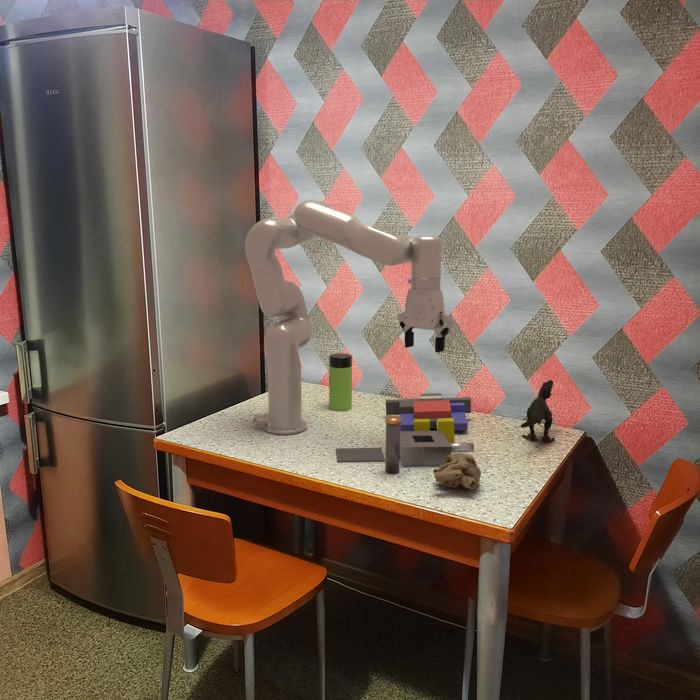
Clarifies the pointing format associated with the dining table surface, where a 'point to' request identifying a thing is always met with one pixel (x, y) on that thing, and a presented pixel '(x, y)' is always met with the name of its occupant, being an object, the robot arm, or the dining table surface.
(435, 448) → the block
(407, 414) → the toy
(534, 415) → the toy
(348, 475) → the dining table surface
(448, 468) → the tan lumpy mass
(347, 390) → the tumbler
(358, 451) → the mat
